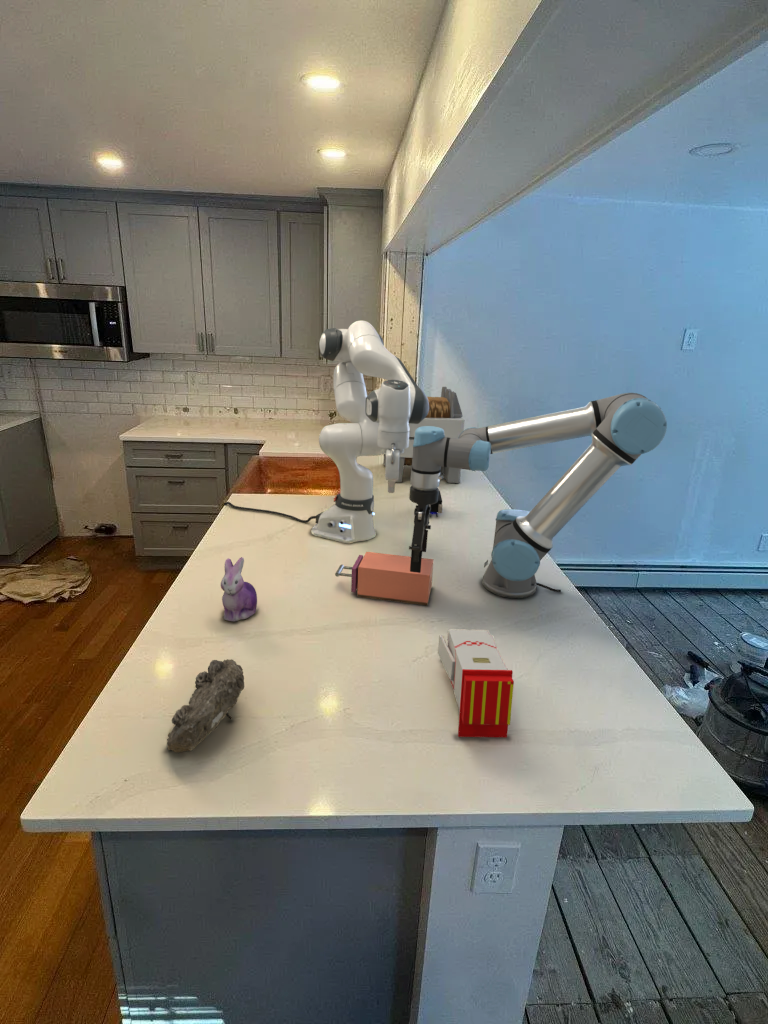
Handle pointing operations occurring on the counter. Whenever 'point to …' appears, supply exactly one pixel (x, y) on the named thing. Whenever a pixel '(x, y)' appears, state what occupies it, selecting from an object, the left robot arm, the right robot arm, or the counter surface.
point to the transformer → (443, 416)
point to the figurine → (237, 593)
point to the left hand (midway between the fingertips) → (391, 487)
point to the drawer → (354, 573)
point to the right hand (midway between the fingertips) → (418, 561)
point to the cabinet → (394, 579)
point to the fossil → (206, 705)
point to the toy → (478, 682)
